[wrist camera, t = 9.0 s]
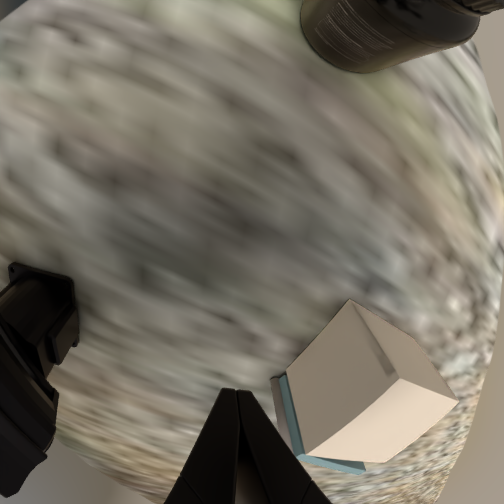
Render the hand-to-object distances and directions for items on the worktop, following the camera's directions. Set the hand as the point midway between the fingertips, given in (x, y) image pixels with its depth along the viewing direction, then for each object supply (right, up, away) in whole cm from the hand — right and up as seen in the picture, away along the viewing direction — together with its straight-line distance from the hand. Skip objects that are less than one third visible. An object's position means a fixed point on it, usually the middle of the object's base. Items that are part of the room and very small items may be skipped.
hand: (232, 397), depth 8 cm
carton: (+9, -5, +16) cm, 19 cm away
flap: (+6, -9, +17) cm, 20 cm away
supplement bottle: (+7, +18, +6) cm, 21 cm away
